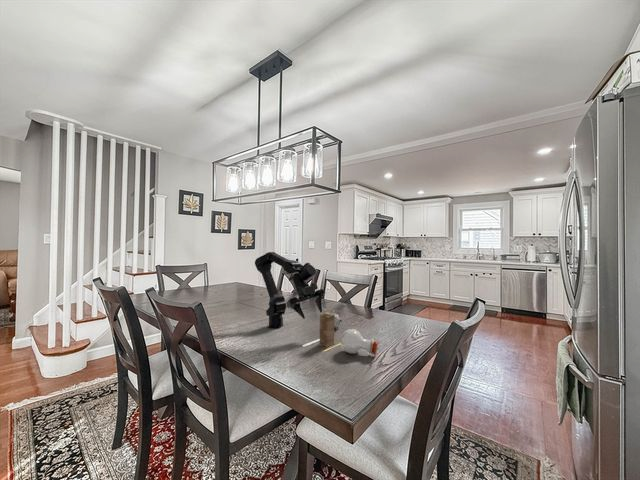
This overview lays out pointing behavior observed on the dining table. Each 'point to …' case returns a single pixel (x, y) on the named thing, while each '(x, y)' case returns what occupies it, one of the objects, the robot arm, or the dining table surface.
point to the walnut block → (327, 329)
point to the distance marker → (332, 347)
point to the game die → (336, 320)
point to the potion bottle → (357, 342)
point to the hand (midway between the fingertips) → (313, 315)
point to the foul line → (311, 343)
